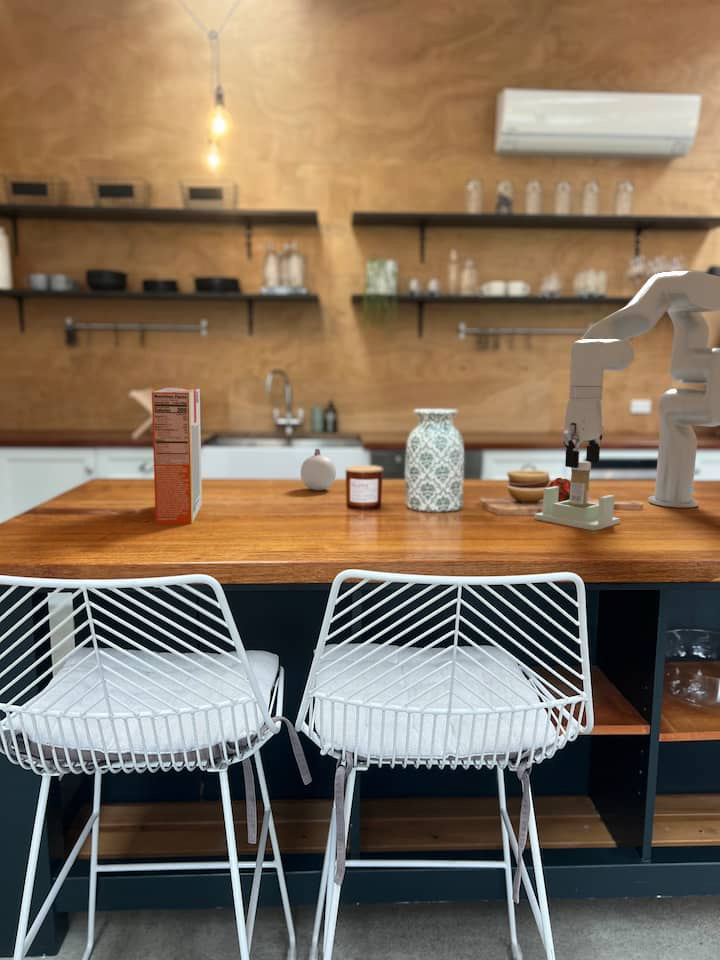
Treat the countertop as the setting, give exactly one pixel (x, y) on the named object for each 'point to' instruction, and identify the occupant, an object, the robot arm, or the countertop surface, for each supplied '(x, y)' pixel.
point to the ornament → (318, 472)
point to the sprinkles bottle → (580, 485)
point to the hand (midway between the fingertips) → (582, 464)
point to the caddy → (577, 512)
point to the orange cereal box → (177, 454)
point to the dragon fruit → (562, 488)
